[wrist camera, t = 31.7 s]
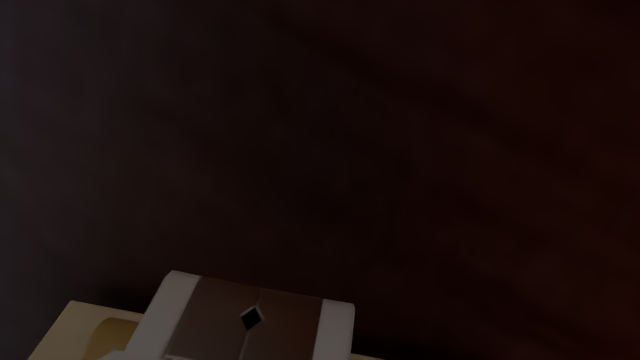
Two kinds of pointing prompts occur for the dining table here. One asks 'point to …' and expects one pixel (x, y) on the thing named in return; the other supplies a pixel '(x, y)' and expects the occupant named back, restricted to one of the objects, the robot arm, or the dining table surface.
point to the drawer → (94, 333)
